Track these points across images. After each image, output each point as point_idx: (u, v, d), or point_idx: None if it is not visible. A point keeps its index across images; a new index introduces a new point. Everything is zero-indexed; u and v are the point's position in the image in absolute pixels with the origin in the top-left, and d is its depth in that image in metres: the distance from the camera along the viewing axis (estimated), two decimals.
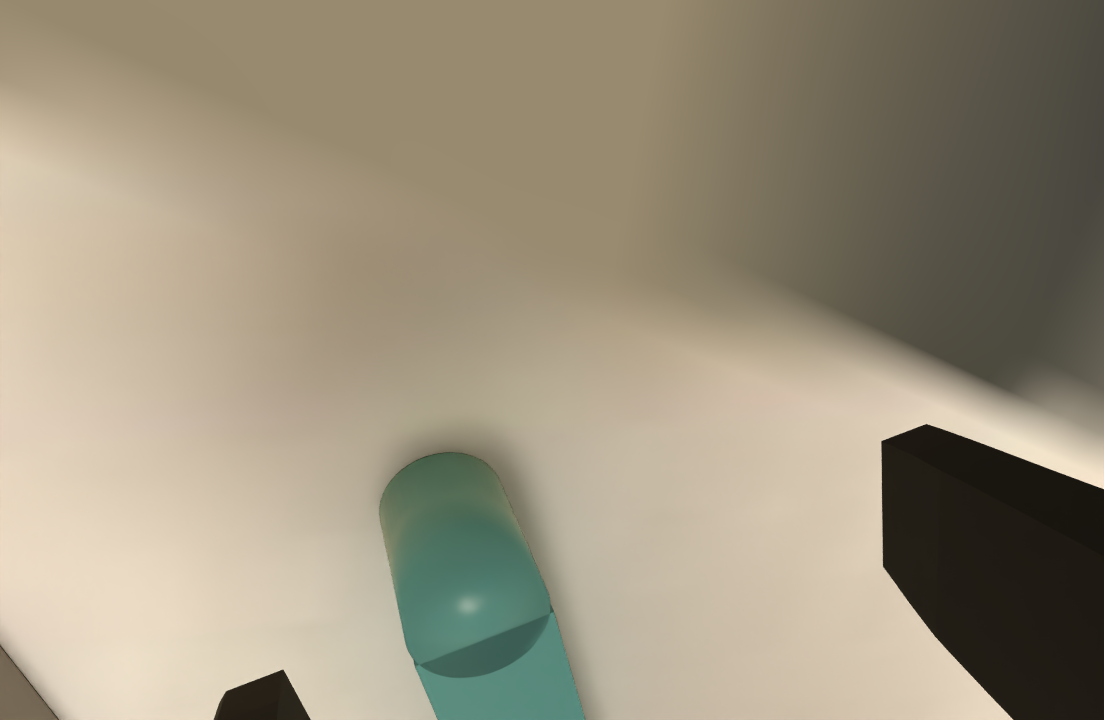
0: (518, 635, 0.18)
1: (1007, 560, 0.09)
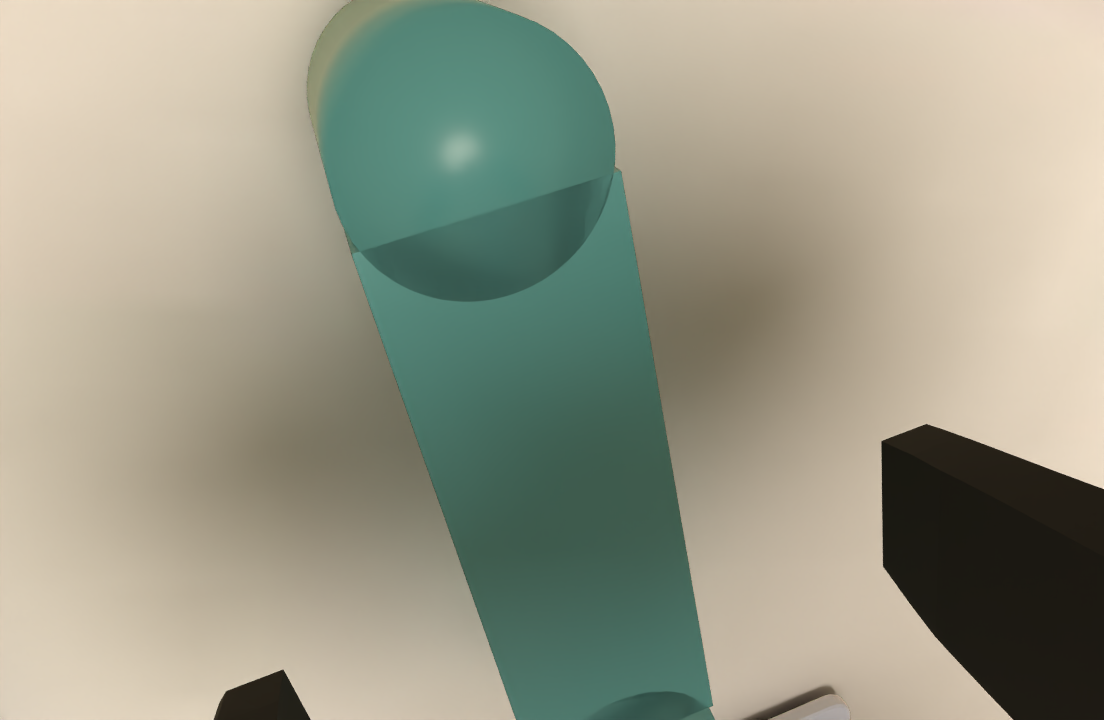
0: (552, 216, 0.09)
1: (1006, 560, 0.09)
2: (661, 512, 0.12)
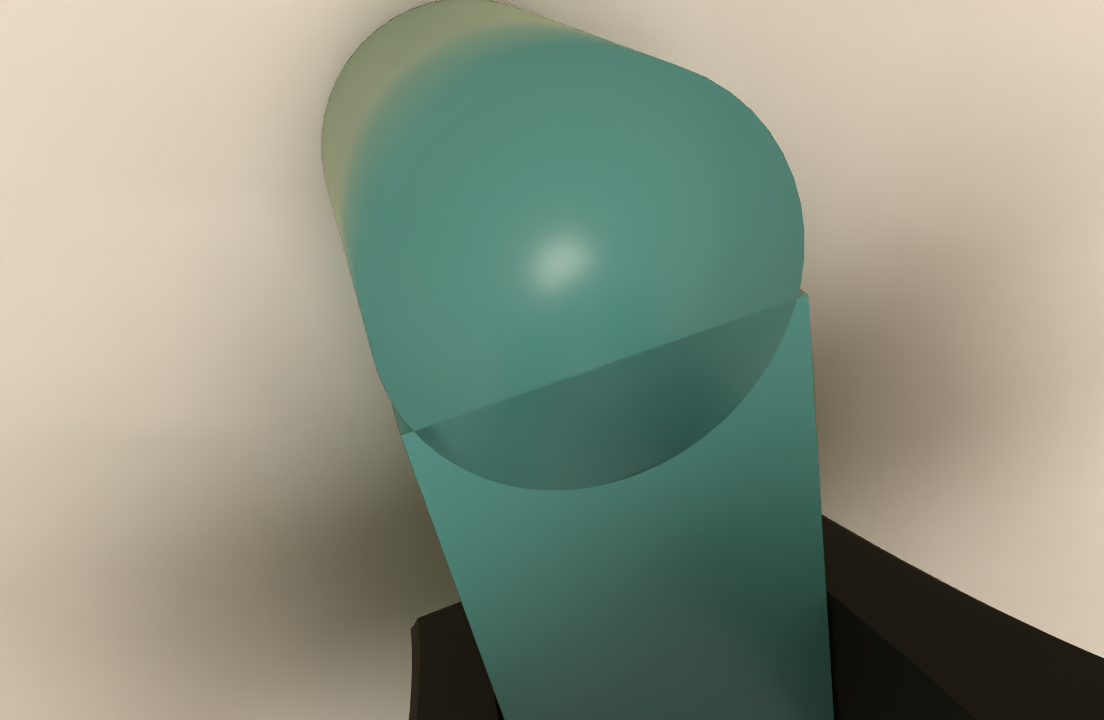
0: (702, 365, 0.06)
1: None
2: None
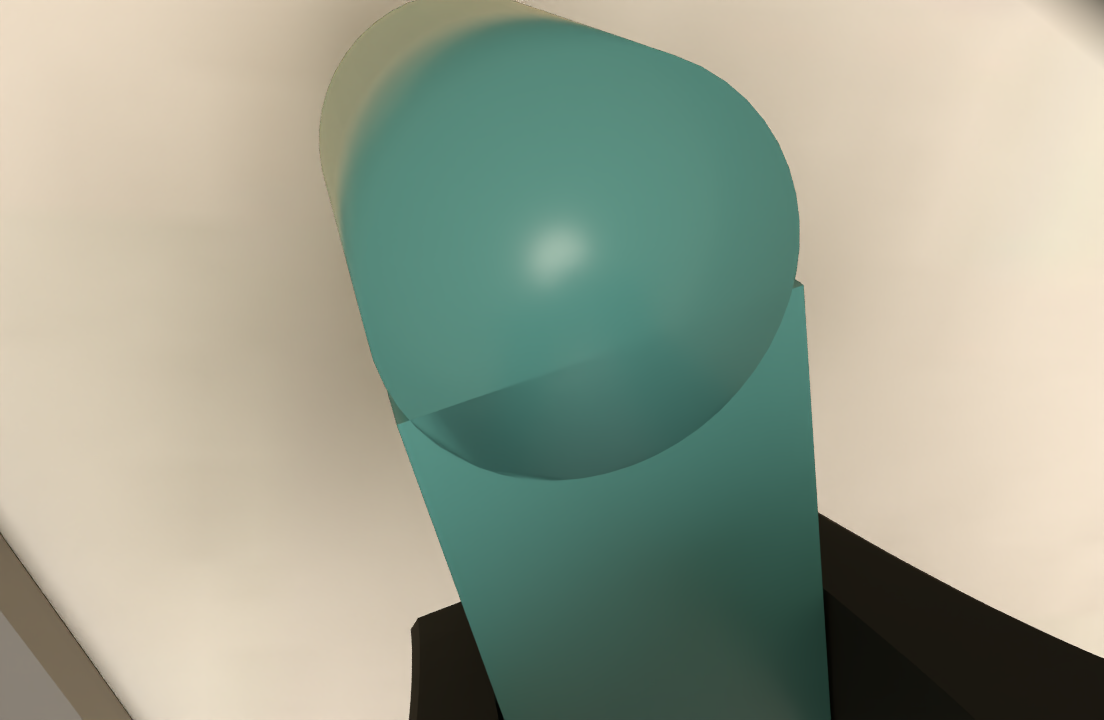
0: (699, 355, 0.06)
1: None
2: None
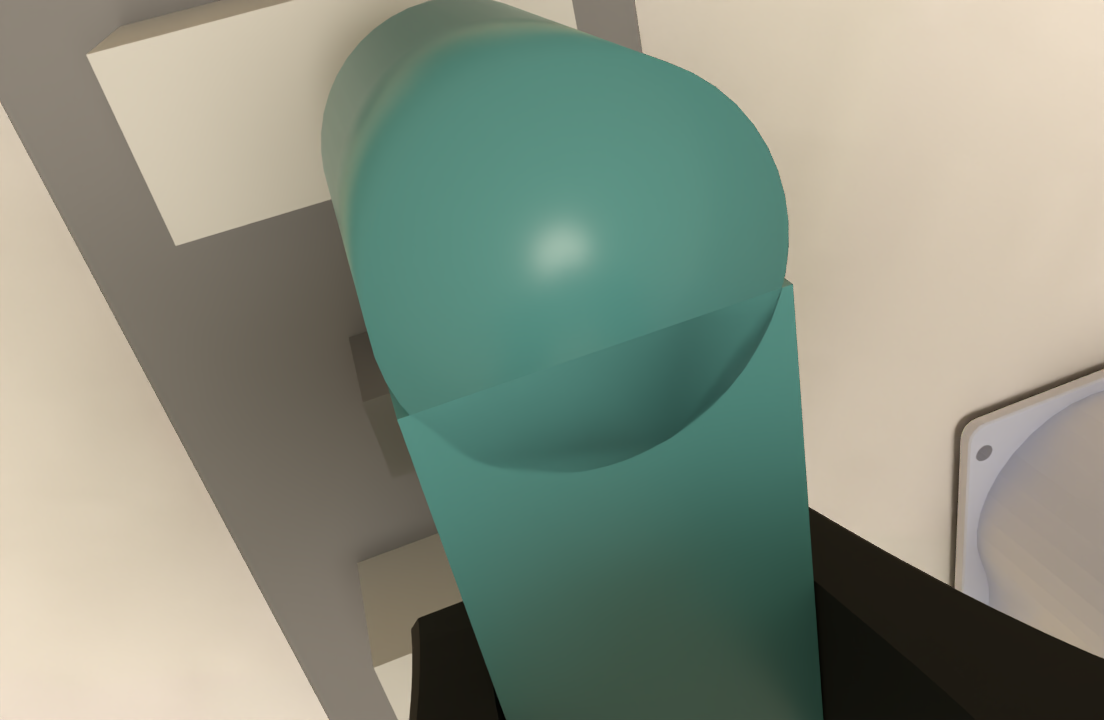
0: (690, 353, 0.06)
1: (823, 637, 0.08)
2: (799, 712, 0.09)
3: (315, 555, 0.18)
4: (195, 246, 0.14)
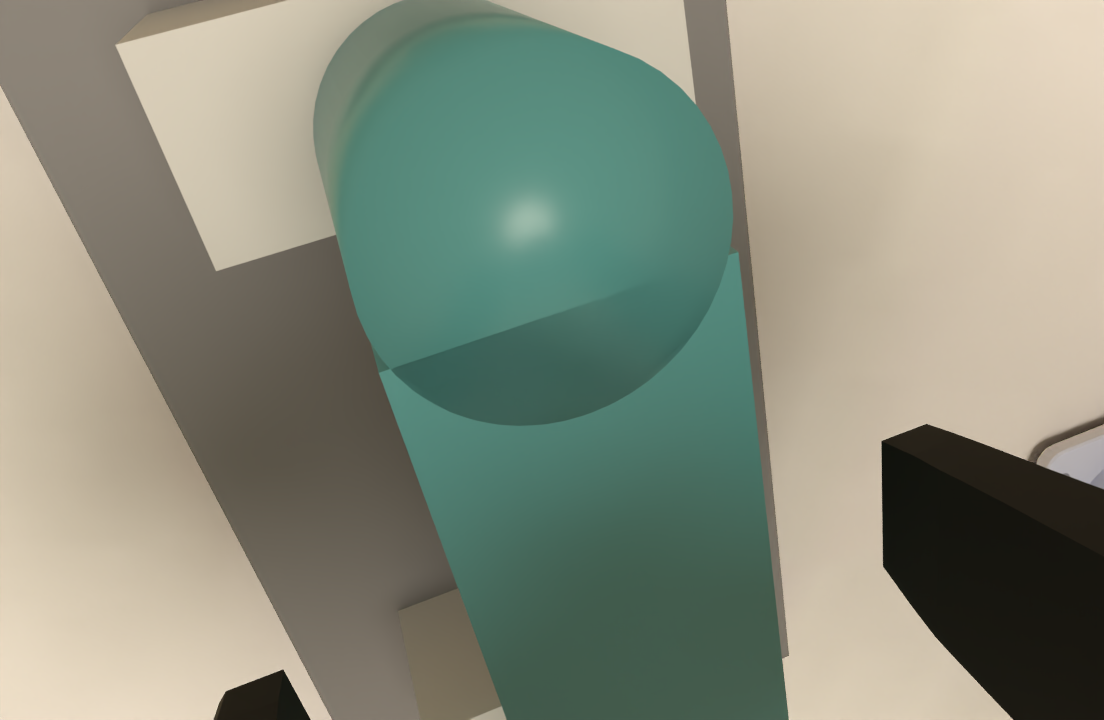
0: (646, 315, 0.07)
1: (1006, 560, 0.09)
2: (760, 658, 0.09)
3: (352, 603, 0.16)
4: None
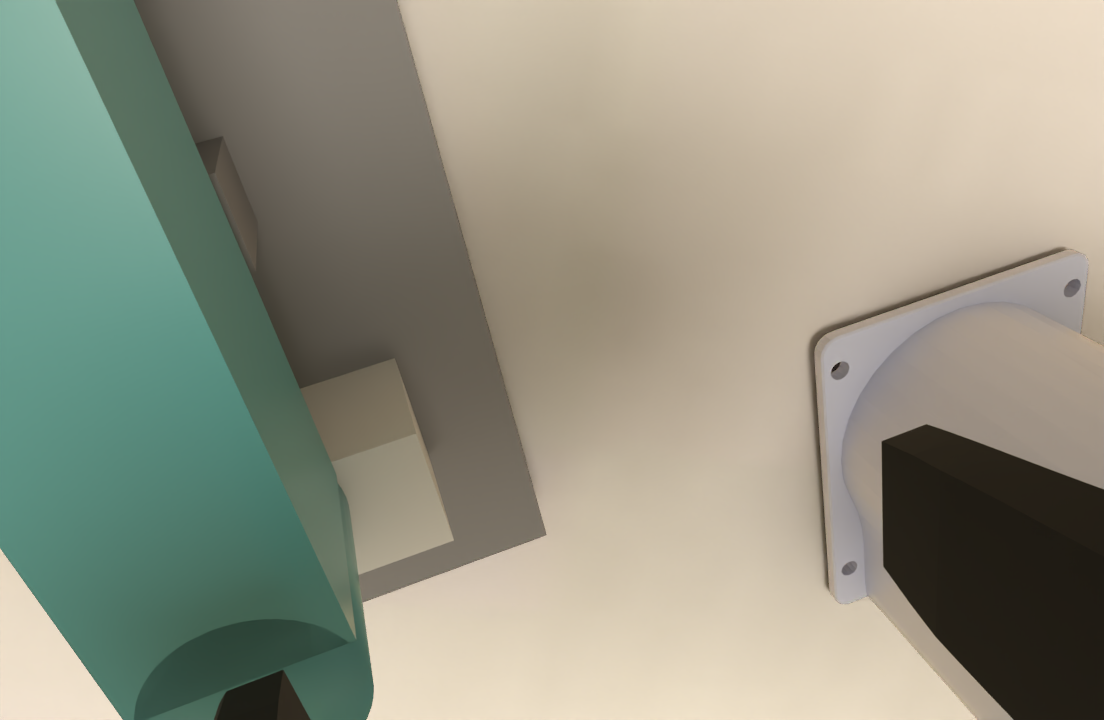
0: None
1: (1006, 560, 0.09)
2: (207, 381, 0.09)
3: None
4: None
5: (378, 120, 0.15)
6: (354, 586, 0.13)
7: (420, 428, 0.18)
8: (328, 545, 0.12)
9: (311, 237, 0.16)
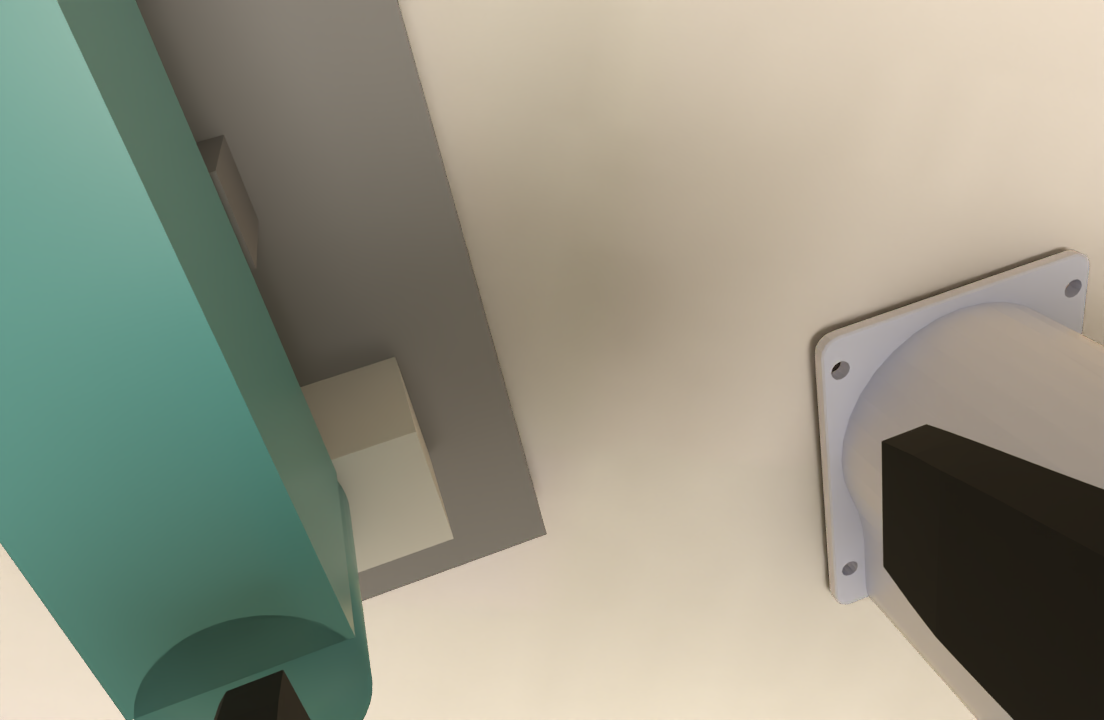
0: None
1: (1006, 561, 0.09)
2: (206, 377, 0.09)
3: None
4: None
5: (379, 119, 0.15)
6: (353, 583, 0.13)
7: (420, 427, 0.18)
8: (327, 542, 0.12)
9: (312, 236, 0.16)
